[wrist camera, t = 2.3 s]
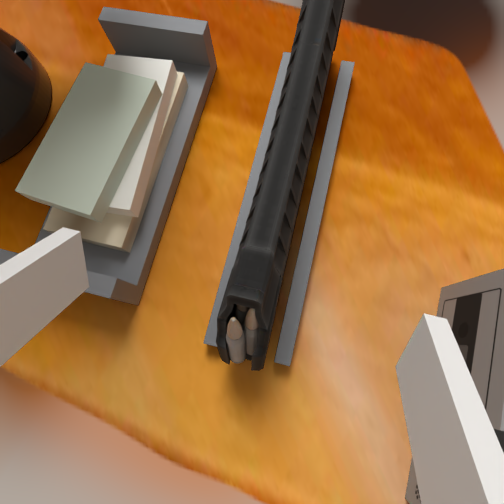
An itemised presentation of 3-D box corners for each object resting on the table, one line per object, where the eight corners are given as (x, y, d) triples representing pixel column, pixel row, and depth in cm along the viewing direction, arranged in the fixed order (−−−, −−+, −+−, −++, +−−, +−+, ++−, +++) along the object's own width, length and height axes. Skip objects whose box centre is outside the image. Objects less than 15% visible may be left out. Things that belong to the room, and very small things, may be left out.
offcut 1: (30, 199, 26) (14, 190, 24) (95, 77, 29) (85, 62, 27) (101, 222, 25) (89, 215, 24) (162, 94, 28) (155, 80, 26)
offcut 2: (69, 207, 27) (57, 199, 26) (116, 68, 31) (107, 54, 29) (138, 217, 27) (129, 209, 25) (177, 74, 30) (172, 60, 29)
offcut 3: (55, 235, 29) (42, 229, 27) (121, 74, 33) (113, 61, 31) (130, 252, 28) (121, 247, 26) (188, 85, 32) (183, 72, 30)
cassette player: (440, 287, 27) (533, 259, 17) (475, 297, 27) (590, 273, 17) (404, 497, 23) (495, 609, 14) (443, 512, 23) (565, 636, 13)
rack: (27, 294, 29) (-23, 286, 24) (131, 41, 35) (109, -6, 31) (289, 364, 26) (292, 370, 21) (350, 74, 33) (364, 28, 28)
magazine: (316, -70, 26) (179, 250, 11) (359, -66, 25) (278, 273, 10) (292, 120, 40) (220, 367, 25) (319, 124, 40) (261, 378, 25)
